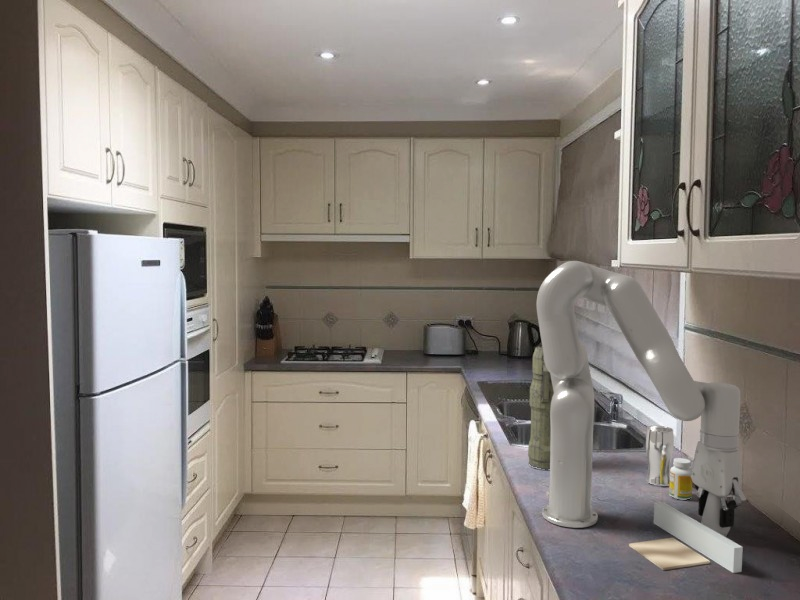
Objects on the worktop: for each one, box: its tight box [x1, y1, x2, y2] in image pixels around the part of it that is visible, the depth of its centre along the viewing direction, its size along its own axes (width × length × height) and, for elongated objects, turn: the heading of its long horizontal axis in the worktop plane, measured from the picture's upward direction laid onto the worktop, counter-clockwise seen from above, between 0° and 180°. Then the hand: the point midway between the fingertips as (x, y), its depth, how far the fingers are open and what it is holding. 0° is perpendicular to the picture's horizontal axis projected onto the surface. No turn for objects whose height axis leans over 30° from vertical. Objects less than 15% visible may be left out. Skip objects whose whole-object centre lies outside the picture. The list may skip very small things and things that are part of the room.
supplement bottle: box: [668, 457, 694, 500], centre depth 166 cm, size 5×5×10 cm
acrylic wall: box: [653, 500, 744, 574], centre depth 138 cm, size 24×2×5 cm, turn 16°
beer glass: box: [645, 425, 675, 485], centre depth 175 cm, size 7×7×15 cm
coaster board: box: [628, 537, 711, 571], centre depth 135 cm, size 11×11×1 cm
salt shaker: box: [700, 492, 731, 538], centre depth 143 cm, size 6×6×13 cm
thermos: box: [527, 344, 554, 469], centre depth 188 cm, size 9×12×35 cm
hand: (715, 519), depth 143 cm, fingers open, 5 cm apart
